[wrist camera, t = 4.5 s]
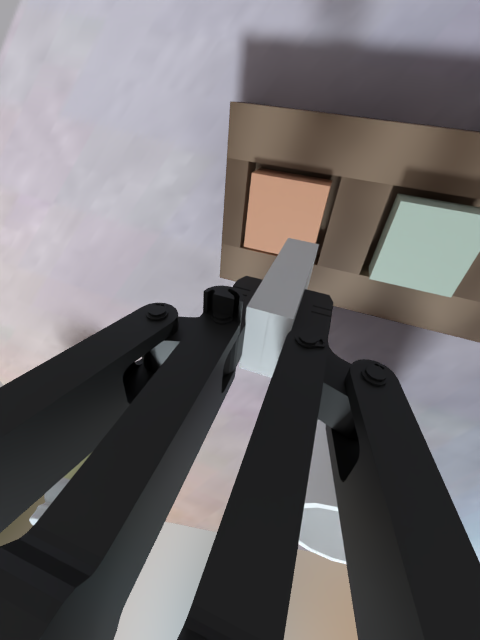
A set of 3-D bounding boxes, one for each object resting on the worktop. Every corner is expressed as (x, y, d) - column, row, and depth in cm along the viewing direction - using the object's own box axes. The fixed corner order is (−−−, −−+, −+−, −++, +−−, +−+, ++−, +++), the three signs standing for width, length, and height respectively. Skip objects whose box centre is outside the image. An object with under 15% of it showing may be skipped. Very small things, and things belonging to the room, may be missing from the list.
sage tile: (487, 208, 17) (500, 218, 16) (443, 283, 20) (450, 297, 19) (397, 193, 18) (400, 201, 17) (368, 266, 21) (369, 278, 20)
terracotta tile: (332, 180, 20) (330, 186, 18) (314, 251, 23) (310, 261, 21) (259, 168, 21) (251, 172, 19) (251, 237, 24) (243, 246, 22)
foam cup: (330, 361, 30) (315, 488, 20) (412, 404, 30) (439, 554, 20) (288, 408, 36) (260, 524, 26) (356, 444, 36) (354, 575, 26)
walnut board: (756, 166, 15) (830, 176, 13) (572, 344, 22) (597, 371, 20) (245, 102, 20) (230, 101, 18) (231, 263, 27) (219, 277, 25)
